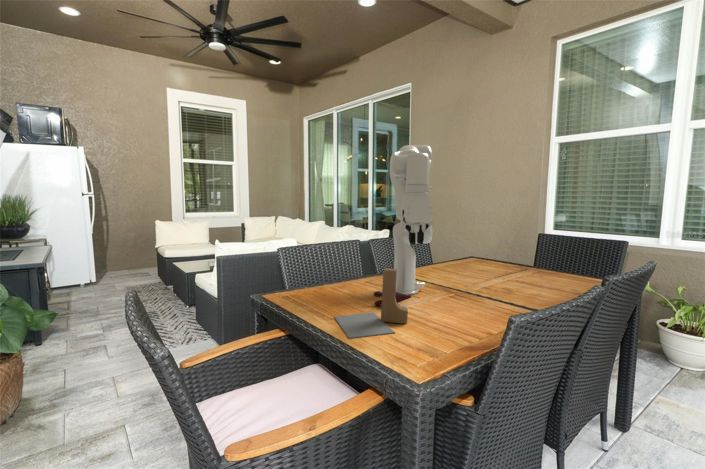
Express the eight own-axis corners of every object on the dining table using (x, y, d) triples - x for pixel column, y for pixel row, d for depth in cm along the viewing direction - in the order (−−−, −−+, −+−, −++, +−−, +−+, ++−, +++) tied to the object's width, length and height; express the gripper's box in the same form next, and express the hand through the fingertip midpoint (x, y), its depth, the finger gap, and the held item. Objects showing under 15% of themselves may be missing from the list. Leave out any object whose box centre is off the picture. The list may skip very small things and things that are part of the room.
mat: (373, 313, 132) (373, 312, 132) (394, 333, 113) (394, 332, 113) (334, 317, 128) (334, 316, 128) (349, 338, 109) (349, 337, 109)
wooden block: (406, 319, 125) (409, 269, 124) (407, 324, 121) (410, 272, 119) (381, 317, 126) (383, 267, 125) (380, 321, 122) (383, 270, 120)
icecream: (410, 287, 145) (373, 290, 146) (411, 287, 138) (372, 290, 139) (411, 304, 144) (374, 307, 145) (413, 305, 136) (374, 308, 138)
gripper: (432, 190, 127) (431, 241, 129) (391, 190, 122) (390, 243, 124) (443, 190, 120) (442, 244, 122) (400, 189, 115) (399, 246, 117)
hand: (416, 243), depth 123 cm, fingers closed
